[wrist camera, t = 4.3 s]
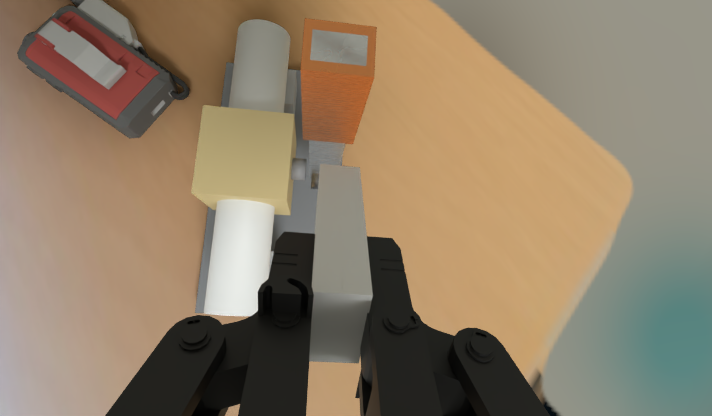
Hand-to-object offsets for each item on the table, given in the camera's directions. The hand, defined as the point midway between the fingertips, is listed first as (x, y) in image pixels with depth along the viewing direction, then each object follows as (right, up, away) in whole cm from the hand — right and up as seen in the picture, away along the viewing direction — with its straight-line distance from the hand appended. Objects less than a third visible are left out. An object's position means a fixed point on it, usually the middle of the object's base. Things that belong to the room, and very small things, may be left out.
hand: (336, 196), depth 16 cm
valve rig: (-6, +1, +21) cm, 22 cm away
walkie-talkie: (-24, +14, +22) cm, 35 cm away
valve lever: (-2, +2, +16) cm, 16 cm away
